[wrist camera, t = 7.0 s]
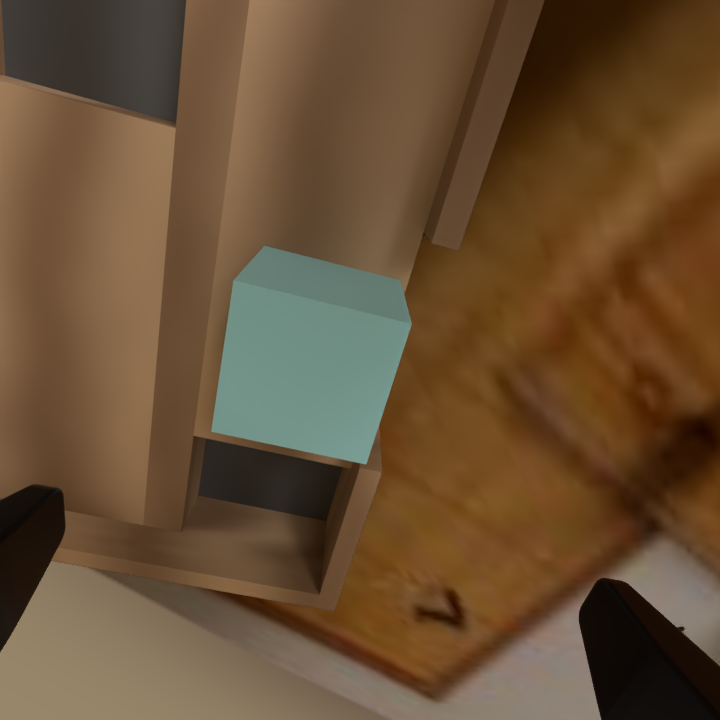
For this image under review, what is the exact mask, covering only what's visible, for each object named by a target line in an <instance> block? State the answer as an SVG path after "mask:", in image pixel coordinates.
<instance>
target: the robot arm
mask: <svg viewBox="0 0 720 720" xmlns="http://www.w3.org/2000/svg"><path fill="white" fill-rule="evenodd" d="M65 528H66V522H65V507H64V495H63V492H62V490H61V489H60V488H58V487H53V486H47V485H41V484H33V485H29V486H27V487H25V488H23V489H21V490H19V491H17V492H15V493H13V494H11V495H9V496H7V497H5V498H3V499H1V500H0V652H1V650H2V649H3V647H4V645H5V644H6V642H7V640H8V639H9V637H10V636H11V634H12V632H13V630H14V628H15V627H16V625H17V623H18V621H19V620H20V618H21V616H22V614H23V612H24V610H25V609H26V606H27V605H28V603H29V601H30V599H31V597H32V595H33V594H34V592H35V590H36V588H37V586H38V584H39V582H40V581H41V578H42V577H43V575H44V573H45V571H46V569H47V567H48V566H49V564H50V562H51V560H52V558H53V556H54V554H55V553H56V551H57V549H58V547H59V545H60V543H61V541H62V539H63V536H64V533H65ZM579 624H580V629H581V633H582V638H583V642H584V647H585V651H586V655H587V660H588V664H589V669H590V673H591V678H592V682H593V687H594V691H595V695H596V700H597V704H598V708H599V712H600V716H601V720H720V666H719V665H718V664H717V663H716V662H714V661H713V660H712V659H711V658H710V657H709V656H708V655H707V654H706V653H704V652H703V651H702V650H701V649H700V648H699V647H698V646H697V645H695V644H694V643H693V642H692V641H691V640H690V639H689V638H688V637H687V636H685V635H684V634H683V633H682V632H681V631H680V630H679V629H678V628H677V627H675V626H674V625H673V624H672V623H671V622H670V621H669V620H668V619H667V618H665V617H664V616H663V615H662V614H661V613H660V612H659V611H658V610H657V609H655V608H654V607H653V606H652V605H651V604H650V603H649V602H648V601H646V600H645V599H644V598H643V597H642V596H641V595H640V594H639V593H638V592H636V591H635V590H634V589H633V588H632V587H631V586H630V585H629V584H627V583H626V582H623V581H620V580H614V579H608V578H601V579H599V580H598V581H597V582H596V583H595V585H594V586H593V588H592V589H591V591H590V593H589V594H588V596H587V598H586V599H585V601H584V603H583V604H582V606H581V608H580V611H579Z"/></svg>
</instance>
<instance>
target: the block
mask: <svg viewBox="0 0 720 720" xmlns="http://www.w3.org/2000/svg"><path fill="white" fill-rule="evenodd" d="M411 325H412V323H411V319H410V315H409V311H408V307H407V304H406V300H405V296H404V292H403V288H402V284H401V281H400V280H397V279H393V278H389V277H386V276H382V275H378V274H374V273H370V272H366V271H362V270H358V269H354V268H350V267H346V266H342V265H338V264H334V263H331V262H327V261H323V260H319V259H315V258H311V257H307V256H303V255H299V254H295V253H291V252H287V251H283V250H279V249H276V248H272V247H268V246H264V247H263V248H262V249H261V250H260V251H259V252H258V253H257V255H256V256H255V257H254V258H253V259H252V260H251V261H250V262H249V263H248V265H247V266H246V267H245V268H244V269H243V270H242V271H241V272H240V273H239V275H238V276H237V277H236V278H235V279H234V280H233V287H232V294H231V301H230V307H229V314H228V321H227V328H226V335H225V341H224V348H223V355H222V362H221V369H220V375H219V382H218V389H217V396H216V403H215V409H214V416H213V423H212V430H211V432H215V433H220V434H225V435H229V436H234V437H239V438H244V439H248V440H253V441H258V442H262V443H267V444H272V445H277V446H281V447H286V448H291V449H295V450H300V451H305V452H309V453H314V454H319V455H324V456H328V457H333V458H338V459H342V460H347V461H352V462H357V463H361V464H367V461H368V458H369V455H370V451H371V448H372V445H373V442H374V439H375V436H376V433H377V430H378V427H379V424H380V421H381V418H382V414H383V411H384V408H385V405H386V402H387V399H388V396H389V393H390V390H391V387H392V384H393V380H394V377H395V374H396V371H397V368H398V365H399V362H400V359H401V356H402V353H403V350H404V347H405V343H406V340H407V337H408V334H409V331H410V328H411Z"/></svg>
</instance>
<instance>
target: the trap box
mask: <svg viewBox="0 0 720 720" xmlns="http://www.w3.org/2000/svg"><path fill="white" fill-rule="evenodd" d="M544 1H545V0H0V500H1V499H3V498H5V497H7V496H9V495H11V494H13V493H15V492H17V491H19V490H21V489H23V488H25V487H27V486H29V485H33V484H41V485H47V486H53V487H58V488H60V489H61V490H62V492H63V495H64V507H65V522H66V528H65V533H64V536H63V539H62V541H61V543H60V545H59V547H58V549H57V551H56V553H55V554H54V556H53V558H52V560H51V561H56V562H61V563H66V564H72V565H78V566H83V567H89V568H94V569H100V570H106V571H111V572H117V573H122V574H128V575H134V576H139V577H145V578H150V579H156V580H162V581H167V582H173V583H178V584H184V585H190V586H195V587H201V588H206V589H212V590H218V591H223V592H229V593H234V594H240V595H245V596H251V597H257V598H262V599H268V600H273V601H279V602H285V603H290V604H296V605H301V606H307V607H313V608H318V609H324V610H329V611H335V608H336V605H337V602H338V599H339V596H340V593H341V590H342V587H343V584H344V581H345V579H346V576H347V573H348V570H349V567H350V564H351V561H352V558H353V555H354V552H355V550H356V547H357V544H358V541H359V538H360V535H361V532H362V529H363V526H364V523H365V521H366V518H367V515H368V512H369V509H370V506H371V503H372V500H373V497H374V494H375V492H376V489H377V486H378V483H379V480H380V477H381V474H382V463H381V445H380V428H379V427H378V430H377V433H376V436H375V439H374V442H373V445H372V448H371V451H370V455H369V458H368V461H367V464H361V463H357V462H352V461H347V460H342V459H338V458H333V457H328V456H324V455H319V454H314V453H309V452H305V451H300V450H295V449H291V448H286V447H281V446H277V445H272V444H267V443H262V442H258V441H253V440H248V439H244V438H239V437H234V436H229V435H225V434H220V433H215V432H211V430H212V423H213V416H214V409H215V403H216V396H217V389H218V382H219V375H220V369H221V362H222V355H223V348H224V341H225V335H226V328H227V321H228V314H229V307H230V301H231V294H232V287H233V280H234V279H235V278H236V277H237V276H238V275H239V273H240V272H241V271H242V270H243V269H244V268H245V267H246V266H247V265H248V263H249V262H250V261H251V260H252V259H253V258H254V257H255V256H256V255H257V253H258V252H259V251H260V250H261V249H262V248H263V247H264V246H268V247H272V248H276V249H279V250H283V251H287V252H291V253H295V254H299V255H303V256H307V257H311V258H315V259H319V260H323V261H327V262H331V263H334V264H338V265H342V266H346V267H350V268H354V269H358V270H362V271H366V272H370V273H374V274H378V275H382V276H386V277H389V278H393V279H397V280H400V281H401V284H402V288H403V292H404V295H405V291H406V288H407V285H408V282H409V278H410V275H411V272H412V269H413V265H414V262H415V259H416V256H417V252H418V249H419V246H420V243H421V239H422V236H423V233H425V235H426V236H427V238H428V239H429V241H430V242H431V244H435V245H438V246H442V247H446V248H450V249H454V250H457V251H459V248H460V245H461V242H462V239H463V236H464V233H465V230H466V227H467V225H468V222H469V219H470V216H471V213H472V210H473V207H474V204H475V201H476V198H477V196H478V193H479V190H480V187H481V184H482V181H483V178H484V175H485V172H486V169H487V167H488V164H489V161H490V158H491V155H492V152H493V149H494V146H495V143H496V140H497V138H498V135H499V132H500V129H501V126H502V123H503V120H504V117H505V114H506V111H507V109H508V106H509V103H510V100H511V97H512V94H513V91H514V88H515V85H516V82H517V79H518V77H519V74H520V71H521V68H522V65H523V62H524V59H525V56H526V53H527V50H528V48H529V45H530V42H531V39H532V36H533V33H534V30H535V27H536V24H537V21H538V19H539V16H540V13H541V10H542V7H543V4H544Z"/></svg>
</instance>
